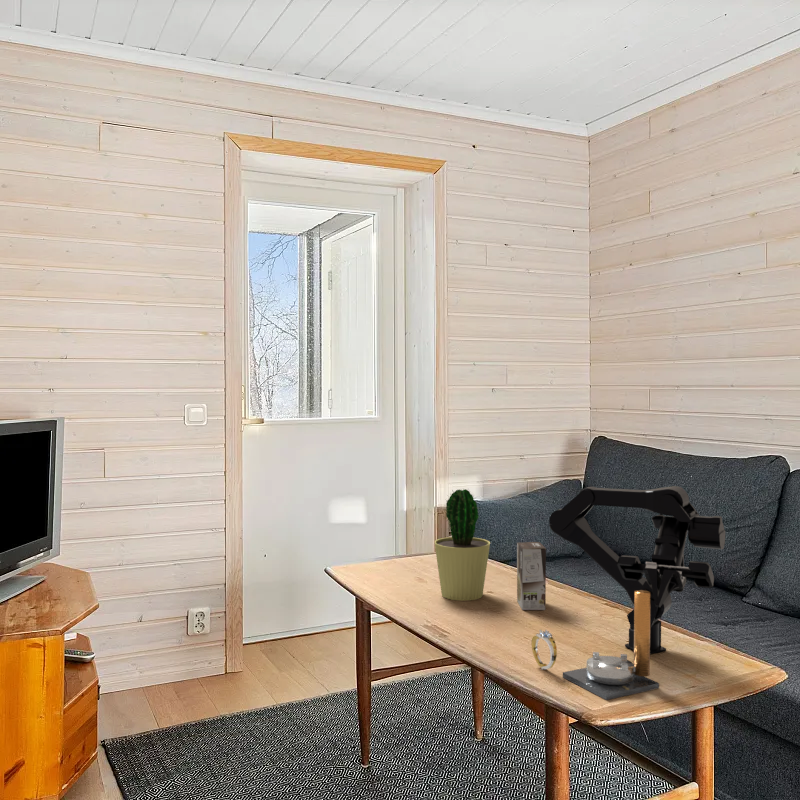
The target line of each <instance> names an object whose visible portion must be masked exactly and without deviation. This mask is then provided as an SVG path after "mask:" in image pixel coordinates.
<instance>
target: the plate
mask: <svg viewBox="0 0 800 800" xmlns="http://www.w3.org/2000/svg"><path fill="white" fill-rule="evenodd" d="M562 678H563V679H566V680H567V681H569V682H571V683H573V684H575V685H576V686H578V687H580V688H583V689H584V690H586V691H589V692H590V693H592V694H594V695H595V696H597V697H600V698H602V699H603V700H606V701H608V700H612V699H613V700H615V699H618V698H621V697H627V696H630V695H631V696H632V695H635V694H640V693H645V692H649V691H653V690H658V689H659V688H660V683H659V682H658V681H655V680H654V679H651V678H648V676H637V675H635V674H634V680H633V681H632V682H630V683H627V684H621V685H611V684H603V683H599V682H596V681H593V680H591V679H590V678H588V677H587V667H583V668H582V667H581V668H579V669H577V668H576V669H573V670H568V671H563V672H562Z"/></svg>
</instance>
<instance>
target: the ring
mask: <svg viewBox="0 0 800 800" xmlns="http://www.w3.org/2000/svg"><path fill="white" fill-rule="evenodd" d="M540 639H542V640H543V641H545V643H546V644H547V646H548V648H549V652H550V653H549V654H550V657H549V659H550V660H549V662H548V664H546V663H544V662H543V661H542V659H541V658H540V655H539V652H538V645H539V644H538V643H539V641H540ZM531 650H532V655H533V657H534V659H535V661H536V663H537V665H538V666H539V667H540V669H541V670H544V671H545V670H550V669H551V668H553V667H554V665H555V663H556V659H557V655H558V650H557V644H556V641H555V639H554V638H553V634H552V632H550V631H549V630H548V629H545V631H544V630H542V629H539V633H536V634H535V635H533V636H532V638H531Z"/></svg>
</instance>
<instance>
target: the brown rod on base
mask: <svg viewBox="0 0 800 800" xmlns="http://www.w3.org/2000/svg"><path fill="white" fill-rule="evenodd" d="M633 610H634V650H633V661H631V660H629V659H628V654H627V653H626V654H625V653H620V657H619V656H613V655H600V652H599V651H593V652H592V657H590V658H588V659H587V660H586V668H587V677H588V678H590V679H591V680H593V681H596V682H599V683H603V684H611V685H621V684H627V683H630V682H632V681H633V680H634V674H635V675H637V676H644V677H649V676H650V675H651V654H650V592H649V591H645V590H636V591H634V604H633Z"/></svg>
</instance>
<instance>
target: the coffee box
mask: <svg viewBox="0 0 800 800" xmlns="http://www.w3.org/2000/svg"><path fill="white" fill-rule="evenodd" d="M546 571H547V548H546V546H544V545H543V544H542V543H541V542H540V541H529V542H528V541H525V542H516V600H517V603H518V605H519V607H520V608H521V610H522V611H546V599H547V598H546V595H547V594H546V591H547V588H546V583H547V582H546V581H547V580H546V579H547V578H546V576H547V575H546V574H547V572H546Z"/></svg>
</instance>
